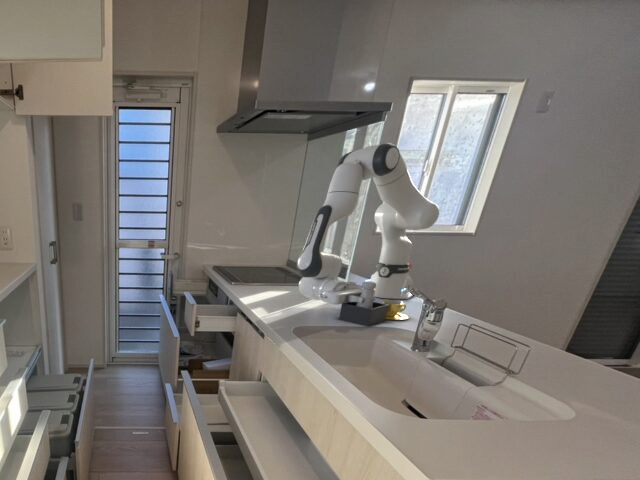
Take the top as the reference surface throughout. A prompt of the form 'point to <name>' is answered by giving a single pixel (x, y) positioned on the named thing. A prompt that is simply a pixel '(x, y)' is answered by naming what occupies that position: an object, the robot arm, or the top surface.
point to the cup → (395, 310)
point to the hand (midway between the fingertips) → (368, 299)
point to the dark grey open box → (363, 313)
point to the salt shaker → (367, 294)
